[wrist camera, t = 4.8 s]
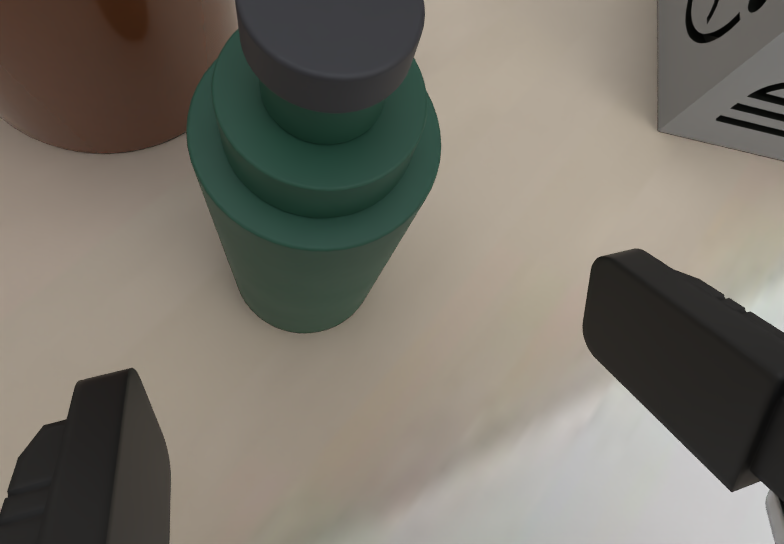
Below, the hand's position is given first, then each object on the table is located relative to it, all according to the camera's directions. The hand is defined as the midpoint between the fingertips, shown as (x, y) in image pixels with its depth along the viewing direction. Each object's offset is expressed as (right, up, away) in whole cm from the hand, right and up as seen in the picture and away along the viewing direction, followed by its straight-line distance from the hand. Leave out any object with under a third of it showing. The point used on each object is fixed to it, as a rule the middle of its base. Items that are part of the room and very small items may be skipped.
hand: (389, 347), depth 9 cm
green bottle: (-4, +2, +13) cm, 14 cm away
